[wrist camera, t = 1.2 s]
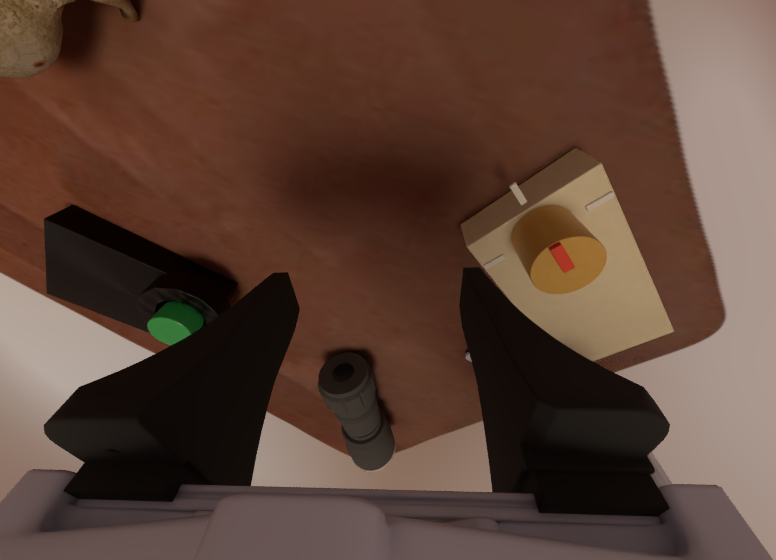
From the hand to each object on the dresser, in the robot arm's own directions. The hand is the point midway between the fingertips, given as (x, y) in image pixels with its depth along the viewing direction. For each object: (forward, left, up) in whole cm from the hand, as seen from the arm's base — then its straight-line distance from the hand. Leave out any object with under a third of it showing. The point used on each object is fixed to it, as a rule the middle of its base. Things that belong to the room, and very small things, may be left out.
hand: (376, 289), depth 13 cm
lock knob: (-8, -5, -7) cm, 12 cm away
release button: (+8, +15, -6) cm, 18 cm away
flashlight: (-11, +21, -10) cm, 26 cm away
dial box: (-14, -3, -10) cm, 17 cm away
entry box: (+12, +17, -10) cm, 23 cm away
